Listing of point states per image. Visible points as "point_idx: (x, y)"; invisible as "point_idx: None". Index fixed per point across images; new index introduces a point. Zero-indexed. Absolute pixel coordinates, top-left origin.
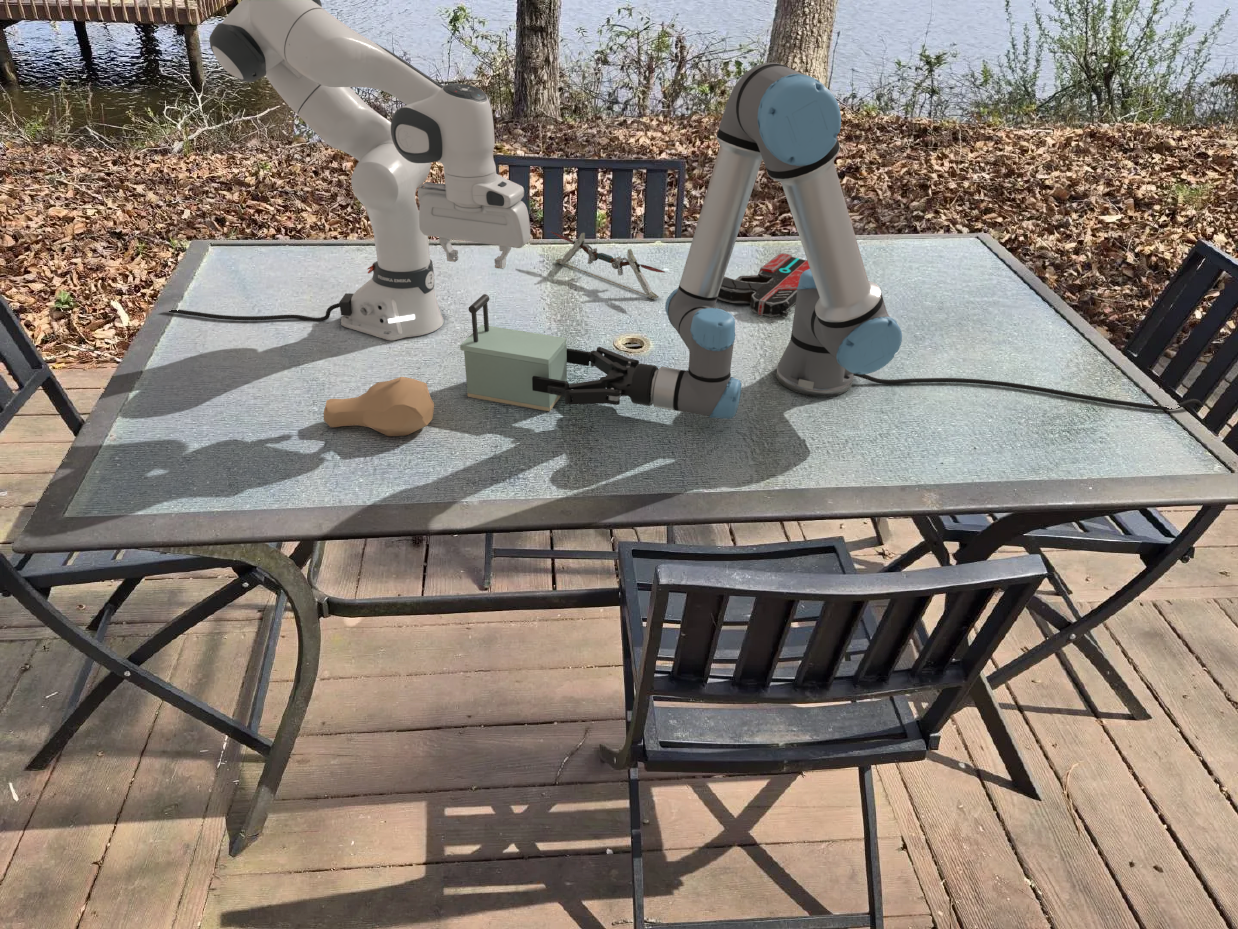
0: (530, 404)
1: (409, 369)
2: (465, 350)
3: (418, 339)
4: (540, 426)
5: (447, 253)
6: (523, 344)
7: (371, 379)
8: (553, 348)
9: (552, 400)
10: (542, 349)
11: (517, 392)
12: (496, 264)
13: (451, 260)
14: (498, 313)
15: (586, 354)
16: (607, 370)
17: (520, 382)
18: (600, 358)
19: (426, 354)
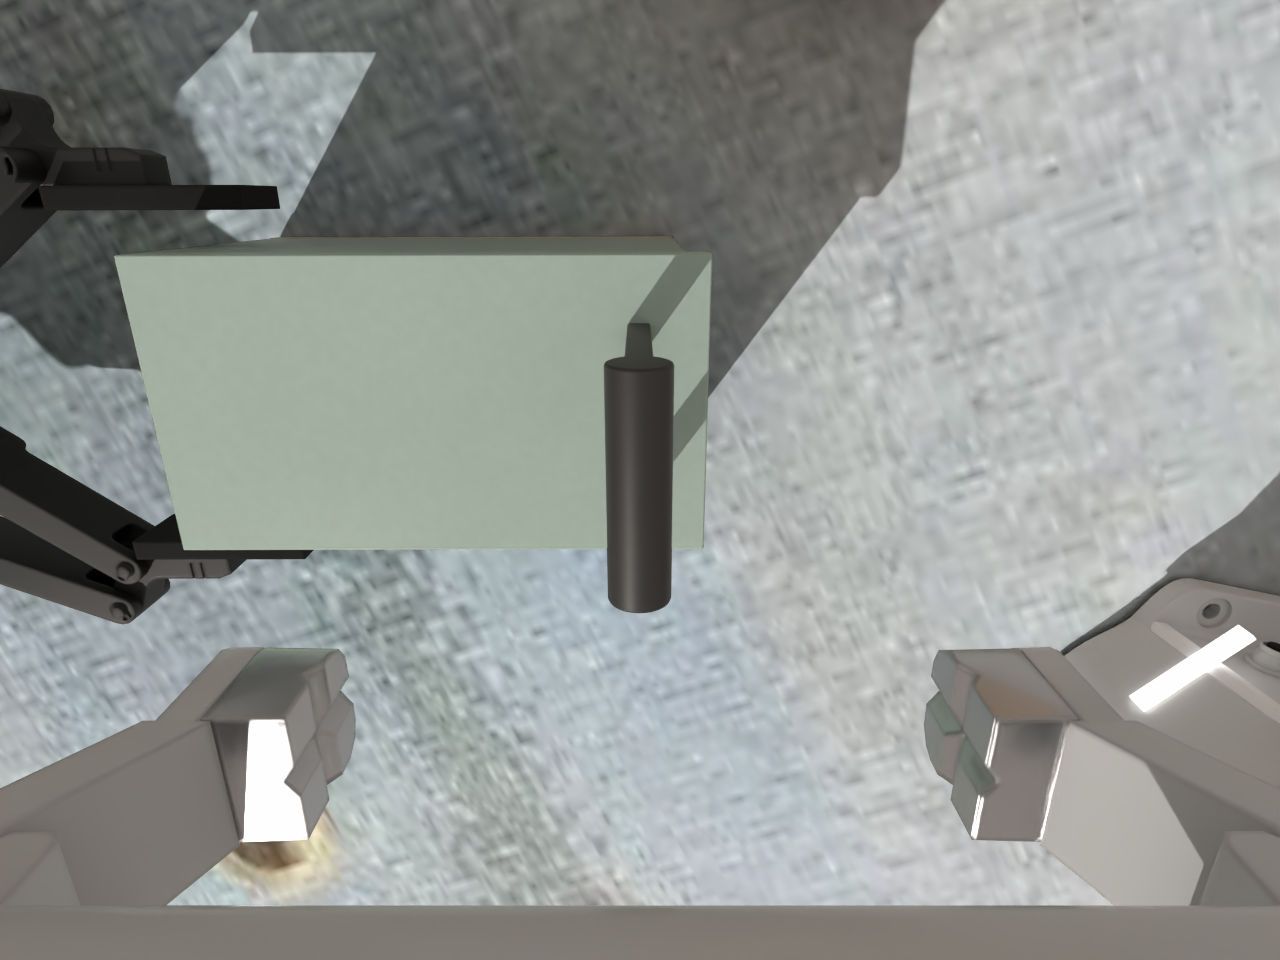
0: (362, 238)
1: (1016, 380)
2: (675, 252)
3: (1066, 625)
4: (248, 93)
5: (1094, 707)
6: (357, 394)
7: (1157, 235)
8: (172, 405)
9: None
10: (220, 370)
11: (408, 240)
12: (286, 669)
13: (988, 651)
14: (830, 890)
15: (145, 538)
16: (22, 466)
17: (372, 243)
18: (56, 518)
19: (989, 523)
